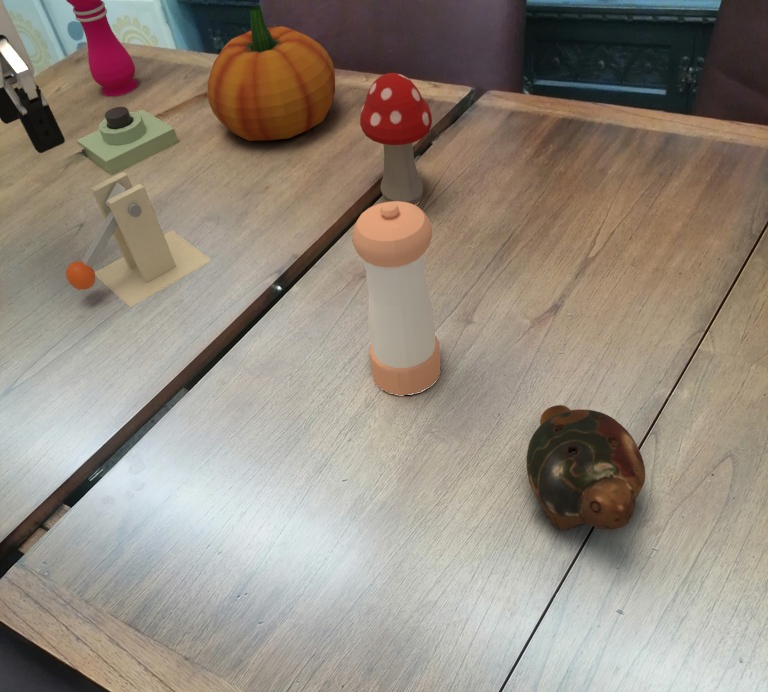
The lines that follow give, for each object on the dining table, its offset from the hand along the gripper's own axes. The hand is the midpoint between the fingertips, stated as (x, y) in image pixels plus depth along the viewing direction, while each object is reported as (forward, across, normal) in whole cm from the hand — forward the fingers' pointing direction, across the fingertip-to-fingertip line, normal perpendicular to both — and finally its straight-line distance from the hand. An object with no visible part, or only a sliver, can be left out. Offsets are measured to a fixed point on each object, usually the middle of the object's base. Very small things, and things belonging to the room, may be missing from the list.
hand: (33, 132), depth 76 cm
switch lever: (+12, +7, +1) cm, 13 cm away
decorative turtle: (+18, +66, +16) cm, 70 cm away
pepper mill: (+18, -43, +25) cm, 53 cm away
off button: (+14, -26, +18) cm, 34 cm away
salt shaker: (+18, +43, +15) cm, 49 cm away
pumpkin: (+18, -13, +38) cm, 44 cm away
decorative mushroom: (+18, +18, +37) cm, 44 cm away
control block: (+18, -26, +18) cm, 36 cm away
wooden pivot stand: (+18, +7, +4) cm, 19 cm away
